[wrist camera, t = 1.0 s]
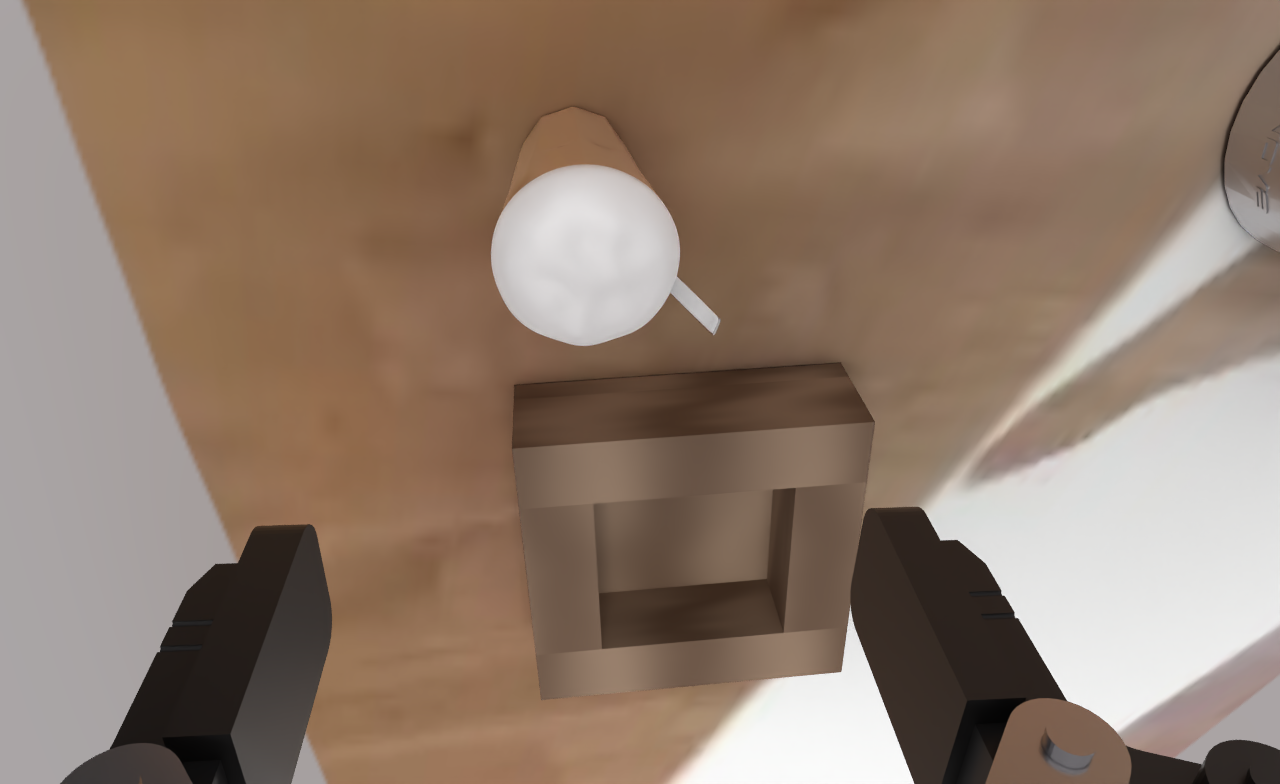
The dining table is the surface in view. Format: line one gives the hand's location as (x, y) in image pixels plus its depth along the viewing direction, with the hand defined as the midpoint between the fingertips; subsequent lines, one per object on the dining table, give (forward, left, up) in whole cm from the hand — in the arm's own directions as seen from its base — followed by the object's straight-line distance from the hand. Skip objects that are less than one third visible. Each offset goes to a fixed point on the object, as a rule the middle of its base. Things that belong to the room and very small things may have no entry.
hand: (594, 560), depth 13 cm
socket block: (-4, +14, -18) cm, 23 cm away
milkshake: (-1, 0, -19) cm, 19 cm away
